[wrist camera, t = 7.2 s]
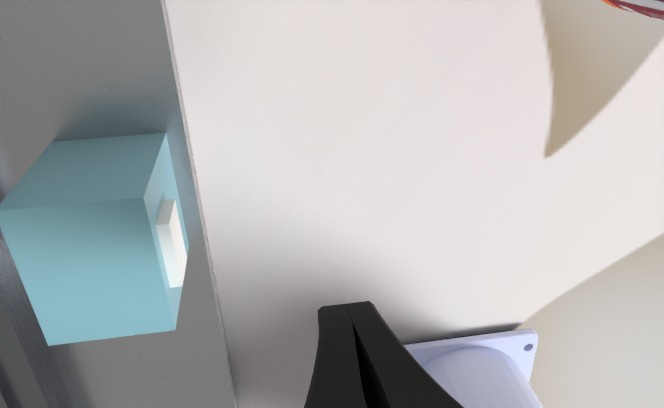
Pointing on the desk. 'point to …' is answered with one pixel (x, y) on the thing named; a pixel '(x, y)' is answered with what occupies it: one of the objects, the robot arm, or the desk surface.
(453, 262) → the desk surface
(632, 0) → the pill bottle
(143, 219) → the block
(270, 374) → the desk surface
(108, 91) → the rail board
